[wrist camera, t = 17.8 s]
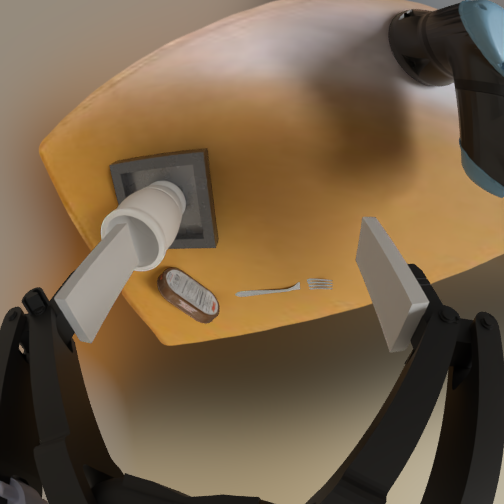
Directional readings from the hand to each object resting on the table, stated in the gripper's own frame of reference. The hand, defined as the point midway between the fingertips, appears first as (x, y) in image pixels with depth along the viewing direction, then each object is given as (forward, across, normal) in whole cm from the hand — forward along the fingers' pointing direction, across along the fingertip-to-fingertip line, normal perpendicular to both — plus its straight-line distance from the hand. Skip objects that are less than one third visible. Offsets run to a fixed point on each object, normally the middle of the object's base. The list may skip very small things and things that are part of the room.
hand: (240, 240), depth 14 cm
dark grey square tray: (+33, -18, -10) cm, 39 cm away
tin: (+33, -16, -30) cm, 47 cm away
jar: (+32, -18, -10) cm, 38 cm away
